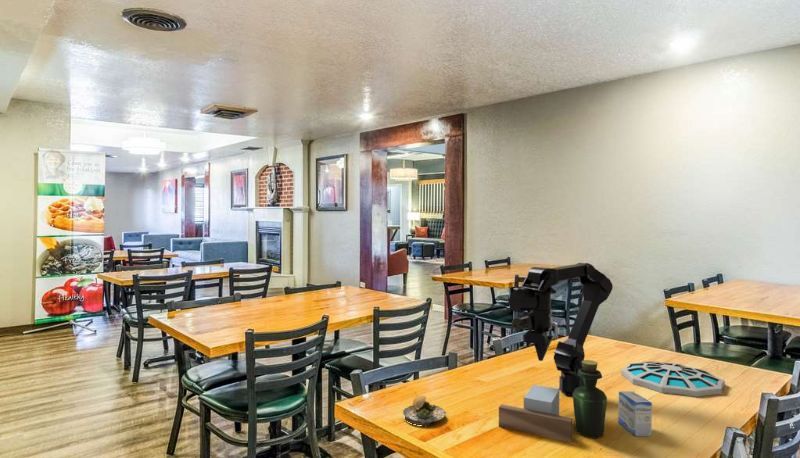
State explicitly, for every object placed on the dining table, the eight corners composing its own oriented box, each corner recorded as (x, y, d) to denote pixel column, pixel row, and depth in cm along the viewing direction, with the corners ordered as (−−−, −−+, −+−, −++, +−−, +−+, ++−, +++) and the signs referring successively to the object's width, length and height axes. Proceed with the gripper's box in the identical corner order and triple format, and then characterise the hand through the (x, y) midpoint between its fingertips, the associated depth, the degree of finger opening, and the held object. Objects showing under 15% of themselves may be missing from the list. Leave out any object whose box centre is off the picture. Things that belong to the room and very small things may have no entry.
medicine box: (617, 423, 122) (617, 390, 122) (633, 422, 122) (633, 390, 122) (635, 436, 114) (635, 402, 114) (652, 436, 115) (652, 401, 114)
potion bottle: (579, 440, 112) (580, 367, 112) (567, 425, 121) (567, 357, 120) (612, 440, 112) (613, 367, 112) (598, 425, 121) (598, 357, 120)
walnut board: (501, 422, 122) (501, 404, 122) (572, 438, 113) (572, 418, 113) (498, 426, 120) (498, 407, 120) (570, 442, 111) (570, 421, 111)
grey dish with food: (433, 432, 118) (433, 403, 117) (394, 421, 124) (394, 393, 124) (453, 415, 128) (453, 388, 128) (416, 406, 134) (416, 381, 134)
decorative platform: (624, 389, 148) (624, 374, 148) (618, 364, 175) (618, 351, 175) (738, 403, 136) (738, 387, 136) (713, 374, 163) (713, 360, 163)
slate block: (533, 412, 129) (533, 384, 129) (559, 418, 126) (559, 389, 125) (523, 428, 119) (523, 397, 119) (551, 434, 116) (551, 402, 116)
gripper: (522, 302, 150) (521, 349, 150) (505, 311, 134) (505, 364, 134) (557, 305, 144) (557, 354, 145) (544, 315, 128) (544, 370, 128)
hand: (540, 360), depth 138 cm, fingers closed
